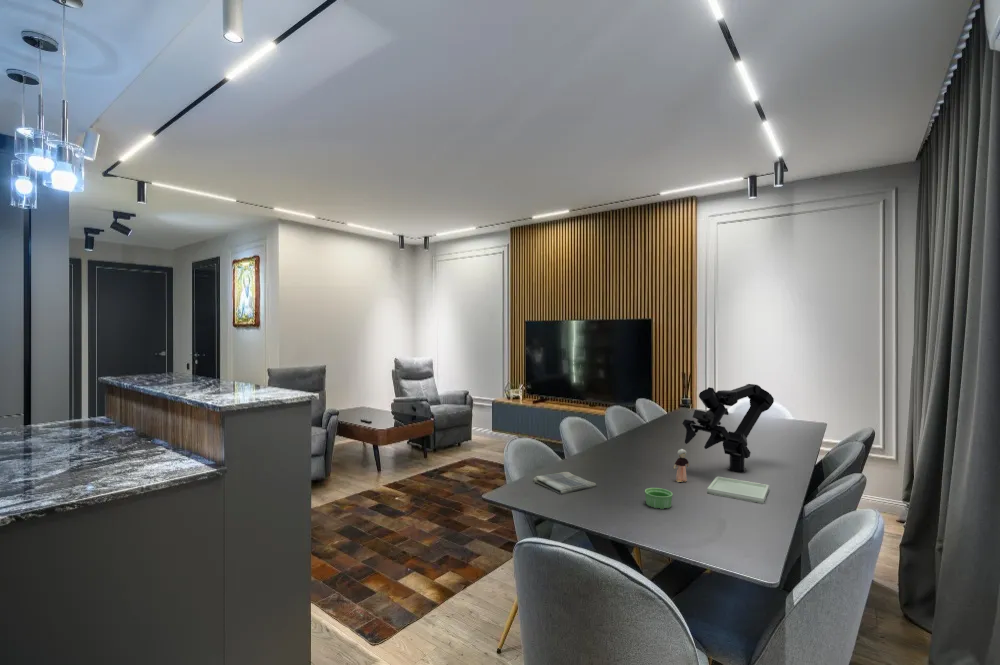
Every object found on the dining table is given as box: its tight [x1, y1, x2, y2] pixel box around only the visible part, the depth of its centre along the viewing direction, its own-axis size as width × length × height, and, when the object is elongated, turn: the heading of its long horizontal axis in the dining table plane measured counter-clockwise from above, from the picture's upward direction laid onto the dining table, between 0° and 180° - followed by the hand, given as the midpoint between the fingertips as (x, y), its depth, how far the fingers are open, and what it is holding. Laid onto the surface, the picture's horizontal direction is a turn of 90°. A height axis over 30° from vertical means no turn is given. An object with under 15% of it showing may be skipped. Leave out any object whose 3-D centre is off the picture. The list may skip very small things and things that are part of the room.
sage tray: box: [706, 476, 770, 505], centre depth 176 cm, size 18×18×2 cm
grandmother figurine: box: [672, 448, 690, 483], centre depth 187 cm, size 8×4×13 cm, turn 125°
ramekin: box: [644, 487, 674, 510], centre depth 162 cm, size 9×9×4 cm
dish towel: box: [532, 471, 597, 495], centre depth 183 cm, size 19×18×3 cm
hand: (695, 445), depth 191 cm, fingers open, 9 cm apart
